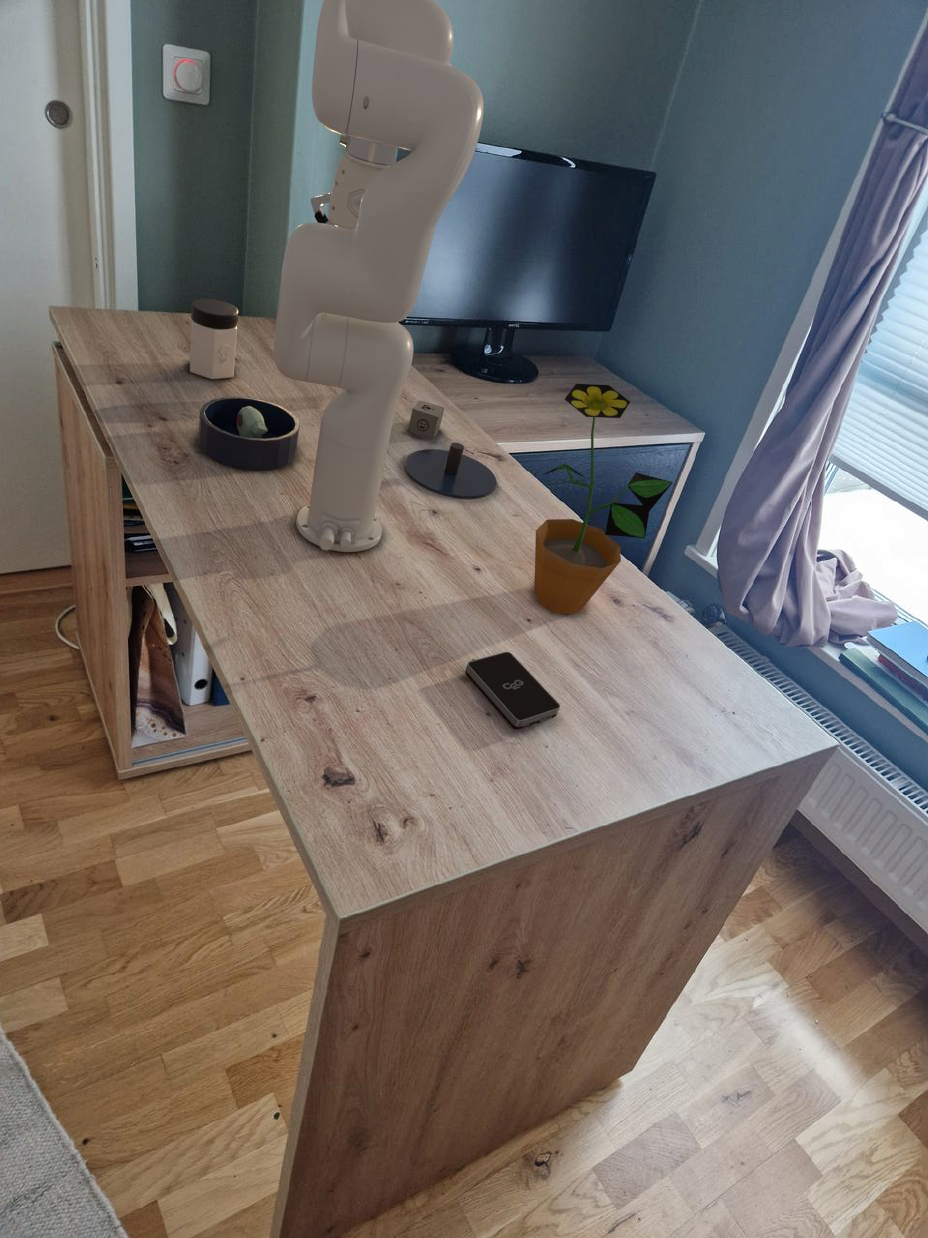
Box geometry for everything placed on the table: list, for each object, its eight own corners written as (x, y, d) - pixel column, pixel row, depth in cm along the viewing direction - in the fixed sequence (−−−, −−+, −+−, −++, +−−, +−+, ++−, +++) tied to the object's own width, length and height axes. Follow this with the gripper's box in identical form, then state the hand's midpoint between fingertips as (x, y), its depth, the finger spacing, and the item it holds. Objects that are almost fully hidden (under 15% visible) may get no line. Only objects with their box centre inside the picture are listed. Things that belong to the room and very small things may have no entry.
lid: (497, 509, 138) (506, 477, 135) (401, 490, 136) (408, 457, 132) (492, 465, 152) (501, 435, 148) (405, 447, 149) (411, 416, 145)
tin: (288, 478, 130) (291, 448, 127) (188, 458, 128) (189, 427, 125) (301, 437, 143) (305, 408, 140) (210, 418, 140) (212, 389, 137)
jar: (201, 381, 151) (204, 316, 144) (178, 363, 155) (180, 299, 148) (244, 377, 157) (249, 314, 150) (221, 359, 161) (225, 297, 154)
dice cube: (414, 424, 158) (419, 399, 155) (438, 431, 158) (444, 407, 155) (407, 433, 154) (412, 408, 151) (432, 441, 154) (438, 416, 151)
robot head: (269, 456, 134) (273, 418, 130) (245, 458, 132) (248, 419, 128) (251, 433, 139) (254, 396, 135) (227, 434, 136) (230, 396, 132)
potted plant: (477, 567, 123) (532, 375, 105) (581, 562, 131) (649, 383, 113) (529, 644, 110) (602, 441, 93) (641, 633, 119) (727, 445, 101)
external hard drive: (513, 734, 96) (518, 722, 94) (461, 674, 102) (464, 661, 101) (557, 719, 100) (562, 707, 98) (504, 661, 106) (508, 650, 105)
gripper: (310, 137, 123) (297, 256, 133) (420, 170, 122) (399, 287, 132) (327, 134, 129) (314, 248, 139) (432, 165, 128) (411, 277, 138)
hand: (355, 267), depth 136 cm, fingers open, 9 cm apart
